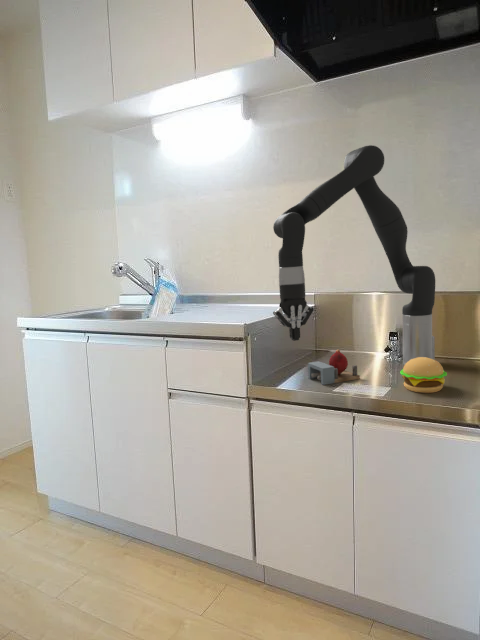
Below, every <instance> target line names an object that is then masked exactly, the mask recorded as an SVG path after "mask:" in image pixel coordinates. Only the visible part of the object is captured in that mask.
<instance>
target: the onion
mask: <svg viewBox="0 0 480 640" xmlns="http://www.w3.org/2000/svg"><path fill="white" fill-rule="evenodd" d="M328 365H331V366H333V367H334V368H337V369H338V375H339V374H341V373H342V372H343V371H344V370H345V371H346V369H347V368H348V366H349V363H348V359H347V357H346V355H344V354H343V353H342V352H341V350H340V349H336V350H335V352H334V353H333V354H332V355H331V356H330V358H329V360H328Z"/></svg>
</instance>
